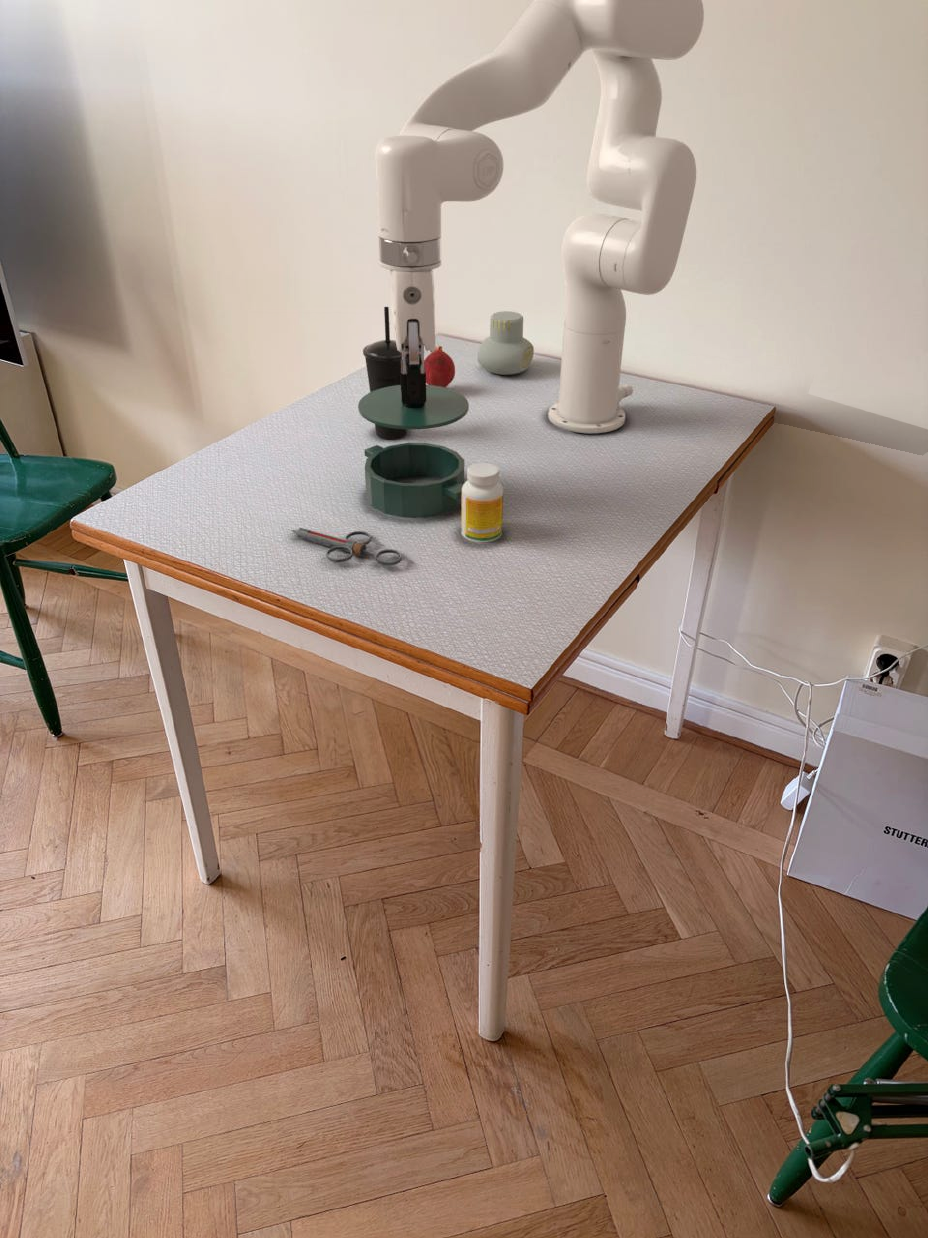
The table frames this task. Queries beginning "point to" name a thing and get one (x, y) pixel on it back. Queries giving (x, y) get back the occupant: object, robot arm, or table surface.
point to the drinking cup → (384, 372)
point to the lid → (413, 408)
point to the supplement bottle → (482, 503)
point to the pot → (413, 496)
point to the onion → (439, 368)
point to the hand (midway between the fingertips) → (413, 395)
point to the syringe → (344, 545)
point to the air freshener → (506, 345)
